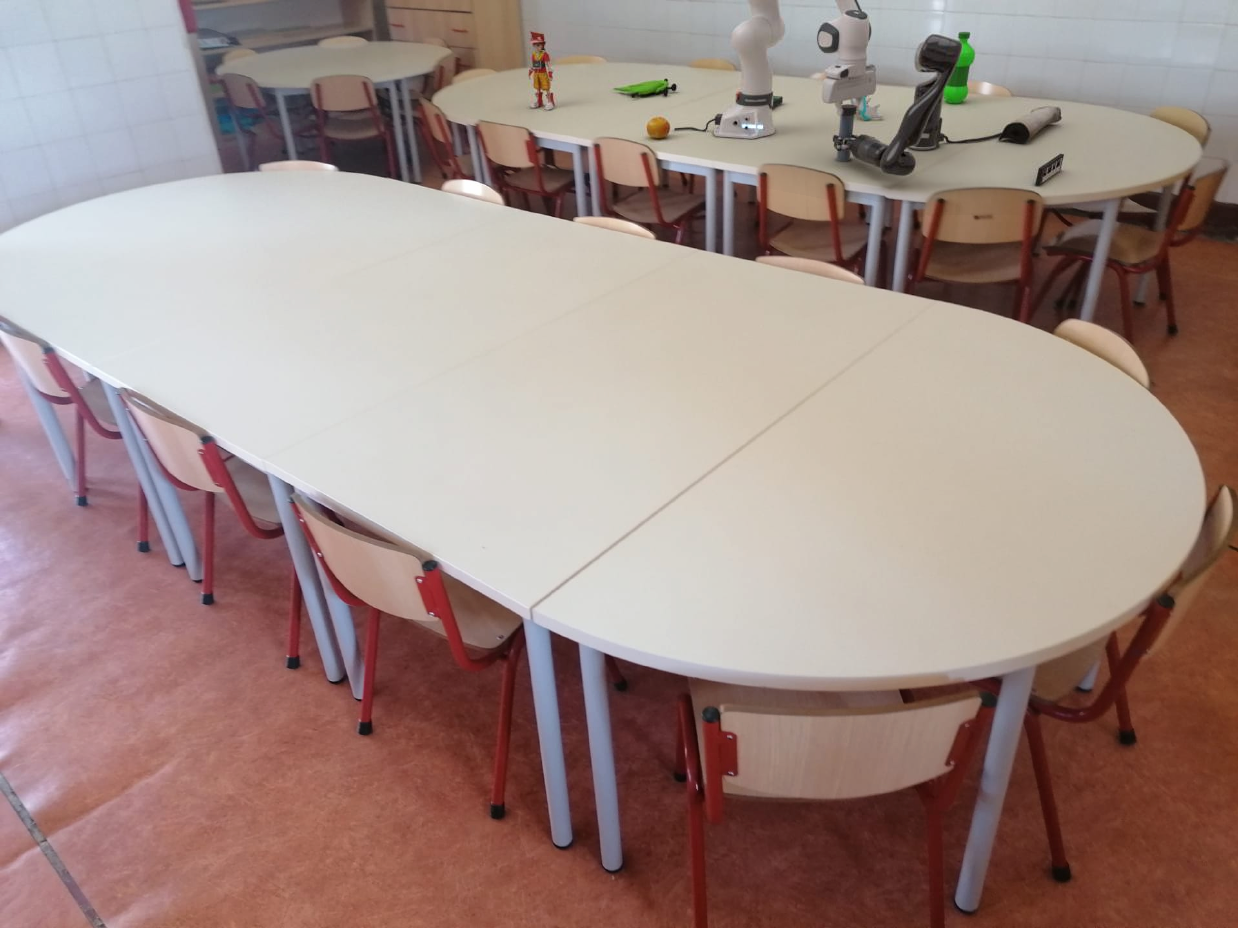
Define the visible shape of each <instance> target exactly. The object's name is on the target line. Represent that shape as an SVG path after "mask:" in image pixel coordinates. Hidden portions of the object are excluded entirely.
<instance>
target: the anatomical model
mask: <svg viewBox="0 0 1238 928" xmlns="http://www.w3.org/2000/svg"><path fill="white" fill-rule="evenodd" d="M866 98H867V99H866ZM871 99H872V98H871V97H869V98H868V96H863V97H862V101H861V103H860V105H859V110H858V111H857V112H856V113H860V115H861V117H862V119H863V120H864V121H871V120H872V119H883V117H885V115H884V114H879V113H878V111H877V110H878V109H879V107H880V106H881V104H876V105H873V106H872V105H871V106H869V103H870V101H871ZM855 101H856V100H855V98H854V99H850V104H852V105H854V103H855Z"/></svg>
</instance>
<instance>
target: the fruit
mask: <svg viewBox="0 0 1238 928" xmlns="http://www.w3.org/2000/svg"><path fill="white" fill-rule="evenodd" d="M670 125H671V124H670V122H669V121H668V120H667V119H666V118H665V117H662V116H656V117H653V118H651V119H650V120H649V121H648V122H647V124H646V132H647V134H648V136H649V137H651V138H653V139H663V138H665V137H667V136H668V135H669V133H670V131H671V126H670Z"/></svg>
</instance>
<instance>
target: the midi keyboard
mask: <svg viewBox="0 0 1238 928" xmlns="http://www.w3.org/2000/svg"><path fill="white" fill-rule="evenodd" d="M1064 157H1065V153H1059V154H1058V155H1056V156H1055V157H1052V159H1051V160H1049V161H1047V162H1045V164H1042V165H1041V166H1039V167H1038V169H1037V175H1036V179H1035V186H1040V185H1042V183H1044V182H1045V181H1047V180H1048V179H1049V178H1051V177H1052V176H1054V175H1055V174H1056V173H1058V172H1060V171H1061V170H1062V165H1063V161H1064Z"/></svg>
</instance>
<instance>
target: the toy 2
mask: <svg viewBox="0 0 1238 928" xmlns="http://www.w3.org/2000/svg"><path fill="white" fill-rule="evenodd" d="M669 85H670V83H669V79H668V78H664V79H663V80H649V81H644V82H640V83H634V84H629V85H627V86H621V87H613V88H612V89H613V90H616V91H619V92H623V93H627V94H628V93H629V94H631V95H630V96H631V98H632V99H634V98H636V96H637V95H650V94H652V93H654V94H658V93H662V95H663V96H665V97H667V96H668V95H669V90H671V91H672V92H676V91H677V84H676V83H672V84H671V86H669Z"/></svg>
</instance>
